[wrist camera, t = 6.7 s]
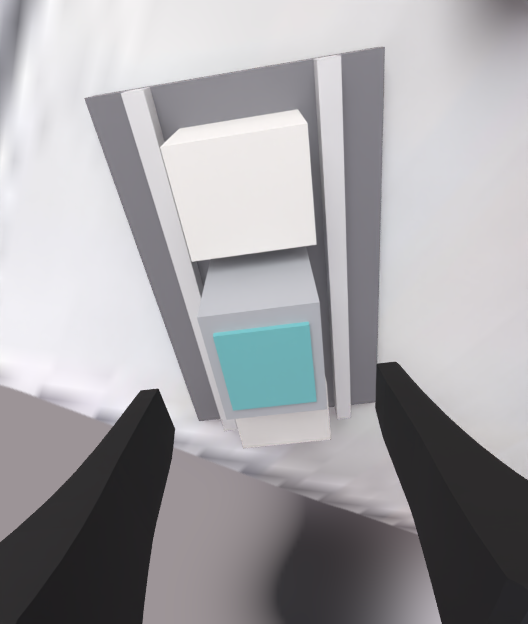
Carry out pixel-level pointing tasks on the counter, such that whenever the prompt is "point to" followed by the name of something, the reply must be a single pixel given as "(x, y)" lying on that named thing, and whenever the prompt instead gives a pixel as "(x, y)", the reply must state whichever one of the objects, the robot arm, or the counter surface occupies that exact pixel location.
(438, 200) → the counter surface
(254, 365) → the module
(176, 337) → the rail board
